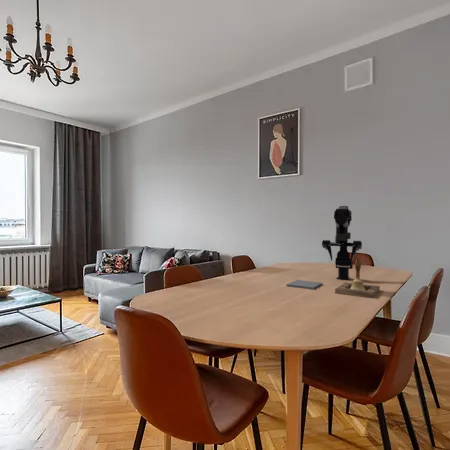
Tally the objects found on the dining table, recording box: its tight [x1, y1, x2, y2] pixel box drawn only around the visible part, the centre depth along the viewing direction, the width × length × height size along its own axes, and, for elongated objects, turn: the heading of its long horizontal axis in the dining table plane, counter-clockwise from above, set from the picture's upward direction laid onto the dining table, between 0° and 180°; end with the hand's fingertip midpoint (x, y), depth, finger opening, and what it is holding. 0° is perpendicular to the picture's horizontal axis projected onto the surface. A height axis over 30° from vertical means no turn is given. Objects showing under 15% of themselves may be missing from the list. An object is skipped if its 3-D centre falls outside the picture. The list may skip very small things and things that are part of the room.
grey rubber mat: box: [286, 279, 323, 290], centre depth 162 cm, size 14×14×1 cm
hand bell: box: [350, 257, 366, 291], centre depth 147 cm, size 8×8×16 cm
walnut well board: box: [334, 282, 380, 299], centre depth 147 cm, size 18×16×2 cm
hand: (341, 261), depth 156 cm, fingers open, 9 cm apart
